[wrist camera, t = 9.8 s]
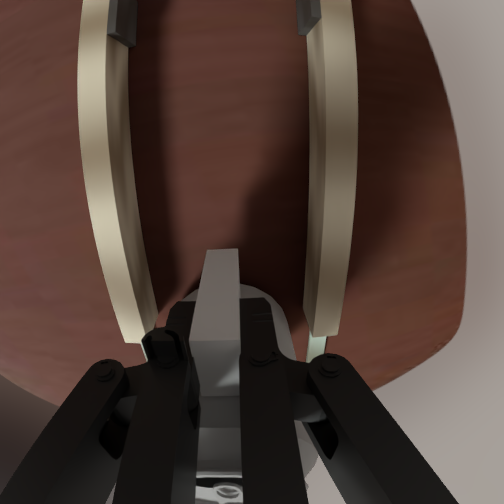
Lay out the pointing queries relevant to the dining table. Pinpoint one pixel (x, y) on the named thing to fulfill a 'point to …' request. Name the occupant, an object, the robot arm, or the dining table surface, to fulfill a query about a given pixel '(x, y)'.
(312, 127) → the chute
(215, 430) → the can
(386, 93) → the dining table surface
